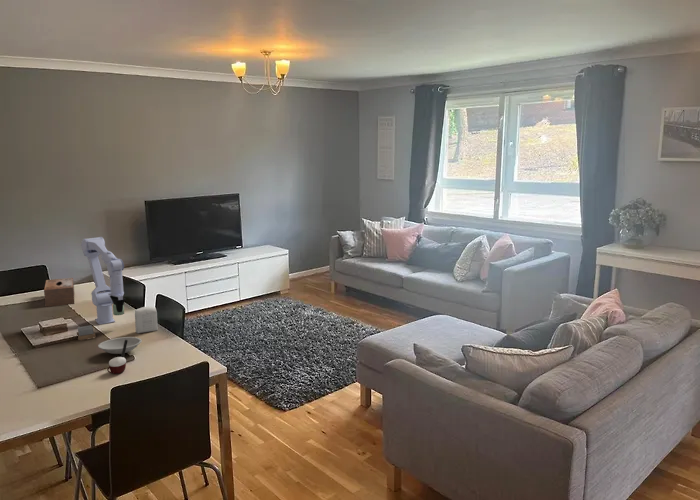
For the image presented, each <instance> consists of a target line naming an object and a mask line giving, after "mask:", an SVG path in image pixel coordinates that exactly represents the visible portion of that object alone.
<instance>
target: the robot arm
mask: <svg viewBox="0 0 700 500" xmlns="http://www.w3.org/2000/svg"><path fill="white" fill-rule="evenodd" d="M80 243H81V245H80V247H81V250H82V253H83V256H84V257H87V259H88V263H89V267H90V271H91V274H92V279H93V282H94V286H95V288H94V289H93V290H92V291H91V294H90V295H91V300H92V304H93V305H94V306H95V307H96V318H95V321H96V323H97V325H104V324H111V323H114V322H116V320H115V319H114V317H113V316H114V315H113V305H114V304H115V305H116V309H117V312H122V310H123V305H124V306H125V302H126V297H124V294H125V291H124V281H123V271H124V269H125V263H124V261H123V260H122V258H118V257H117V256H116V255H114V253H113V252H112V251H110V250H108V249H107V247H106V241H105V238H104V237H103V236H98V237H91V238H89V237H88V238H82V240H81V242H80ZM99 255H101V257H100V258H101V260H102V261H103V263H104V264H105V265H106V270H107V274H108V276H109V285H107V284H106V280H105V277H104V273H103V270H102V269H103V268H102V266H101V262H100V261H101V260H100V259H99Z"/></svg>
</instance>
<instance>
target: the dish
mask: <svg viewBox="0 0 700 500" xmlns="http://www.w3.org/2000/svg"><path fill="white" fill-rule="evenodd" d="M125 340H128V342H127V346H126V351H125V353H128V352H131V351H133V350H134V349H135V348H137V347H138V345H140V344H141V343H142V341H143V340H142V338H139V337H136V336H125V337H124V336H123V337H117V338H111V339H108V340H104V341H102V342H100V343H98V345H97V347H98V349H101V350H102V351H103V352H105V353H107V354H112V355H118V354H119V355H122V350H123V346H124V342H125Z"/></svg>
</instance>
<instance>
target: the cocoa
mask: <svg viewBox="0 0 700 500" xmlns="http://www.w3.org/2000/svg"><path fill="white" fill-rule="evenodd" d="M127 342H128V340H125V342H124V346H123V350H122V354H120V355H121V356H117V357H116V356H115V357H113V358H112V359H110V360H109V361H108V367H107V368H106V369H107V370H106V371H107V372H108V373H109V374H114V375H118V374H122V373H123V372H124V371H125V370H126V366H127V359H126V358H125V351H126V346H127Z"/></svg>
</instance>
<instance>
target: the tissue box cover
mask: <svg viewBox="0 0 700 500" xmlns="http://www.w3.org/2000/svg"><path fill="white" fill-rule="evenodd" d="M74 283H75V282H74V277H67V278H55V279H46V280H45V284H44V289H43V293H44V304H45V308H46V307H47V308H48V307H57V306H66V305H74V304H75V285H74Z"/></svg>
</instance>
